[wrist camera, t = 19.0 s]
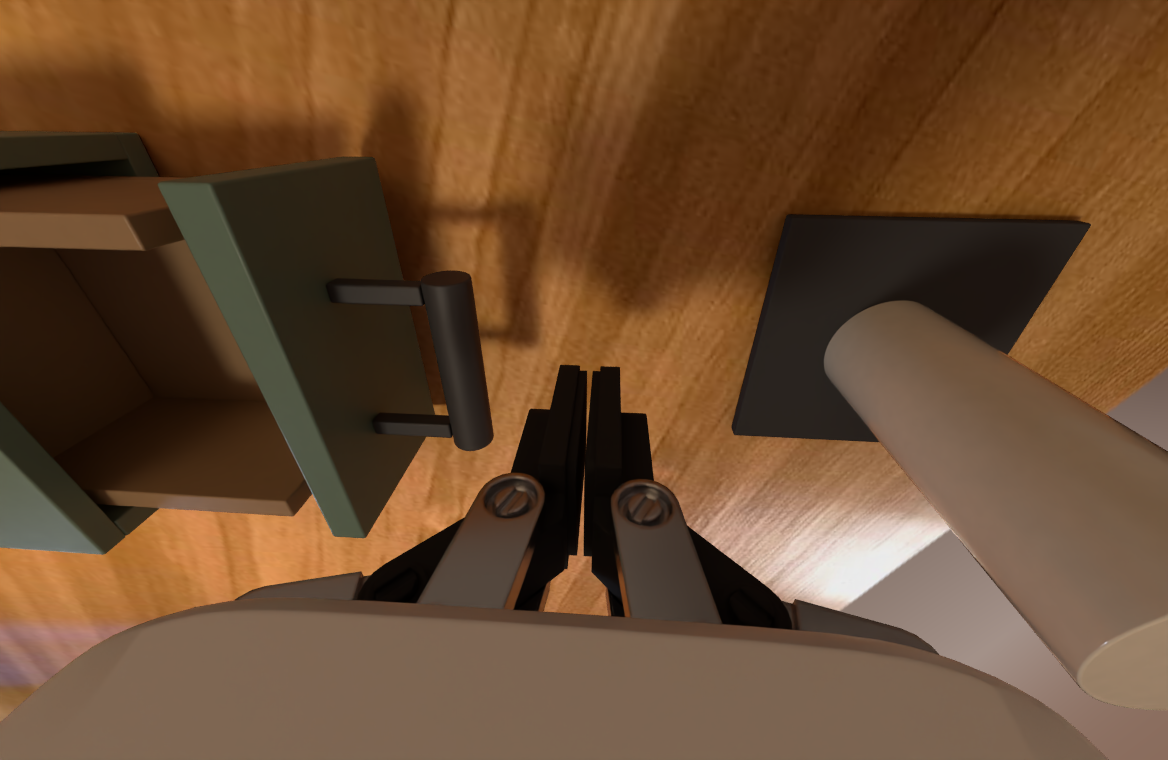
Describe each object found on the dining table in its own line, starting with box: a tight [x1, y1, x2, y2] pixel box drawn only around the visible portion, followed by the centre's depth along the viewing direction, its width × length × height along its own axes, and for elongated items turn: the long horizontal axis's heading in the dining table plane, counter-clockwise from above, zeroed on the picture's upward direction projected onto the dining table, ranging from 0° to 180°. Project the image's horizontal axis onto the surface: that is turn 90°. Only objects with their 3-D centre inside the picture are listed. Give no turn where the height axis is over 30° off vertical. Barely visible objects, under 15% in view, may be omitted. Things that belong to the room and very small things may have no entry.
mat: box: [732, 214, 1091, 442], centre depth 17 cm, size 10×10×1 cm
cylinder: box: [824, 301, 1168, 710], centre depth 12 cm, size 4×4×12 cm
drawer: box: [0, 157, 494, 538], centre depth 14 cm, size 18×11×7 cm, turn 89°
